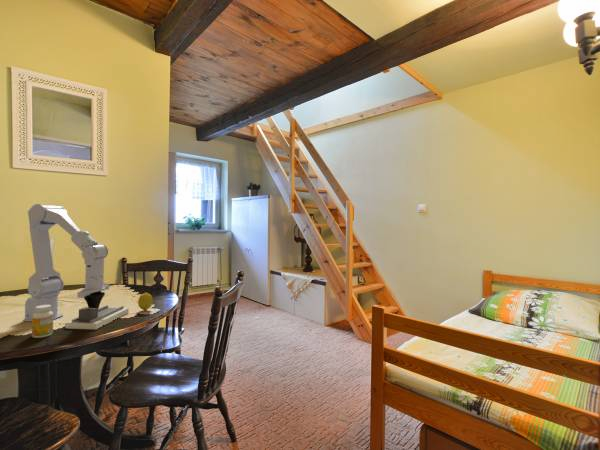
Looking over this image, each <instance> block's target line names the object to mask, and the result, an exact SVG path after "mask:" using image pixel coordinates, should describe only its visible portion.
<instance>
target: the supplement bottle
mask: <svg viewBox="0 0 600 450" xmlns="http://www.w3.org/2000/svg"><path fill="white" fill-rule="evenodd" d="M50 310H51V305H40V306H37V307H36V308H35V311H36V313H35V314H33V316H32V321H31V327H32V328H31V337H32V338H36V339H38V338H39V339H41V338H46V337H49V336H51V335H53V333H54V319H53V312H52V311H50Z"/></svg>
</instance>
